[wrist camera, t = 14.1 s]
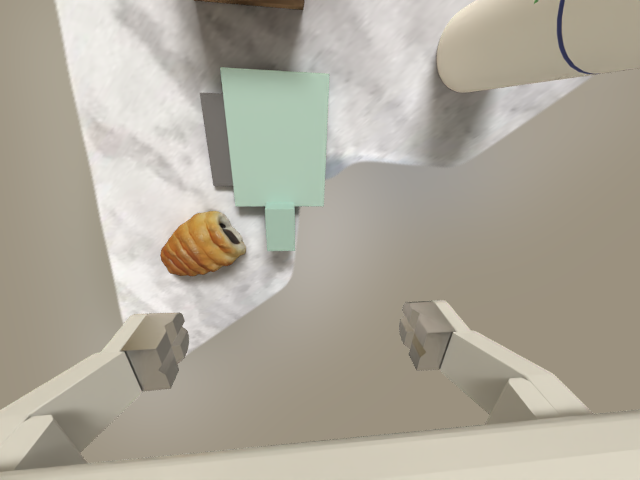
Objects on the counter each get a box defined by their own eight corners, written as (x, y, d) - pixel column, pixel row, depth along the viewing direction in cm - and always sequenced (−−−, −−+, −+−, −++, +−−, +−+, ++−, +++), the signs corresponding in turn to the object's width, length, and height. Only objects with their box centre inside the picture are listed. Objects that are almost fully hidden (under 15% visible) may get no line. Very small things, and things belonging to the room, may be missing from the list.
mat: (307, 98, 25) (308, 97, 25) (307, 184, 29) (307, 186, 28) (201, 93, 24) (199, 92, 23) (215, 184, 28) (213, 185, 27)
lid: (328, 75, 24) (333, 69, 21) (321, 238, 31) (324, 250, 29) (222, 68, 23) (213, 62, 20) (240, 239, 30) (236, 251, 27)
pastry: (190, 280, 33) (179, 299, 29) (150, 239, 30) (132, 255, 26) (252, 245, 32) (247, 261, 28) (217, 200, 29) (207, 211, 25)
